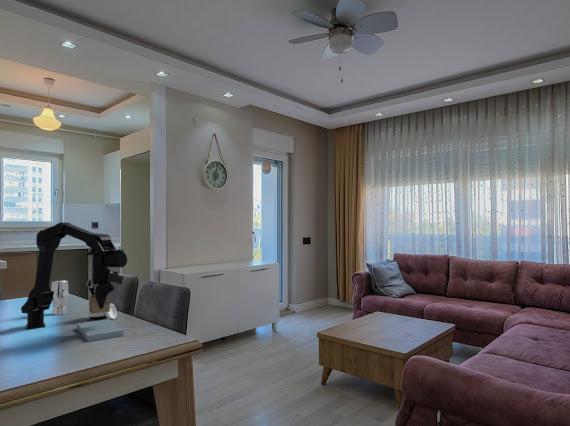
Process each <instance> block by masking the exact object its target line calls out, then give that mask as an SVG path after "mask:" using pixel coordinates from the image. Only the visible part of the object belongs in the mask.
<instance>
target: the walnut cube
mask: <svg viewBox="0 0 570 426" xmlns="http://www.w3.org/2000/svg"><path fill="white" fill-rule="evenodd" d="M89 299H90V308H89V307H88V312H89V311H90V312H91V313H92V314H94V313H102V312H110V303H111V295H109V294H108V295H107V297H106V300H105V303H104V307H103V309H100V308H99V305H98V303H97V300H96V297H95V295H90V294H89Z"/></svg>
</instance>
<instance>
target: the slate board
mask: <svg viewBox="0 0 570 426" xmlns="http://www.w3.org/2000/svg"><path fill="white" fill-rule="evenodd" d="M76 326H77V327H76V329H77V330H78V331H79V333H80V334H81V335H82V336H83V338H84V340H86V341H87V342H88V343H89V342H94V341H101V340H106V339H107V340H108V339H111V338H119V337H123V336H124V329H123V328H121V327H120V326H119V325H117V324H116V323H115V322H114V321H112V319H109V318H106V319H102V320H91V321H84V322H78V323H77V324H76Z"/></svg>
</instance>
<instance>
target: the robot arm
mask: <svg viewBox="0 0 570 426" xmlns="http://www.w3.org/2000/svg"><path fill="white" fill-rule="evenodd" d="M66 236H70V237H71V238H74V239H77V240H79V241H82V242H84V243H85V245H86V246H87V247H88V248H90V249H91V250H90V251H89V252H87V253H86V255H87V256H91V260H92V261H91V269H90V273H91V278H88V280H86V287H88V288H87V289H88V290H89V293H91V295H95V297H96V300H97V303H98V305H99V308H100V309H103V307H104V303H105V300H106V297H107V295H109V294H110V293H112V292H113V291H115V285H114V284H113V283H117V284H118V285H122V283H123V281H124V279H125V277H124V276H123V275H120V274H119V272H118V271H114V270H113V271H112V272H111V269H109V268H121V269H122V268H124V267H125V266H126V265H127V263H128V257H127V255H126V253H125V250H124V249H117V247H116V245H115V244H114V243H113V240H112V238H111V236H110V235H109V234H107V233H101V232H100V233H99V232H91V231H89V230H86V229H85V228H81V227H79V226H76V225H74V224H72V223H71V222H63V221H62V222H57V223H56V224H55V225H52V226H50V227H47V228H45V229H43V230H39V232H37V234H36V238H35V239H36V240H35V241H36V243H35V244H36V247H37V249H38V250H39V255H38V261H37V269H36V275H35V281H34V287H33V288H32V289H31V290H30V292H29V293H28V296H27V299H26V300H27V301H26V302H25V303H24V304H23V305H22V306H21V307H20V310H21V314H26V316H27V317H26V321H27V322H26V323H27V324H25V325H24V326H25V329H26V330H31V329H36V328H43V327H46V323H45V322H44V321H45V311H47V310H50V307H51V304H53V295H54V291H51V287H50V284H51V283H50V282H51V275H52V268H53V262H54V256H55V251H56V250H57V249H58V248H59V246H60V245H61V241H62V239H64V238H65V237H66Z"/></svg>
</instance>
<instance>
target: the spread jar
mask: <svg viewBox="0 0 570 426" xmlns="http://www.w3.org/2000/svg"><path fill="white" fill-rule="evenodd" d="M89 293H90V292H89ZM90 295H91V293H90V294H89V296H90ZM88 300H89V301H88V309H89V308H90V298H89V299H88ZM117 313H118V311H117V308H116V306H115V304H114V303H111V302H110V312H102V313H94V314H92V313H91V312H90V311H89V310H88V319H89V320H90V321H99V320H106V319H110V320H114V319H116V318H117V315H118V314H117Z"/></svg>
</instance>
